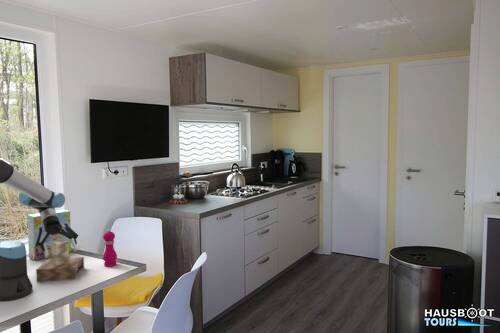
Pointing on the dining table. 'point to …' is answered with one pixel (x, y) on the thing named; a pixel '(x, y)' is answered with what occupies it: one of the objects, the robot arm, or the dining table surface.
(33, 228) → the snack box
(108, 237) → the pepper mill
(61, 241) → the birch block
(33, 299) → the dining table surface
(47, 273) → the brown wooden slab
